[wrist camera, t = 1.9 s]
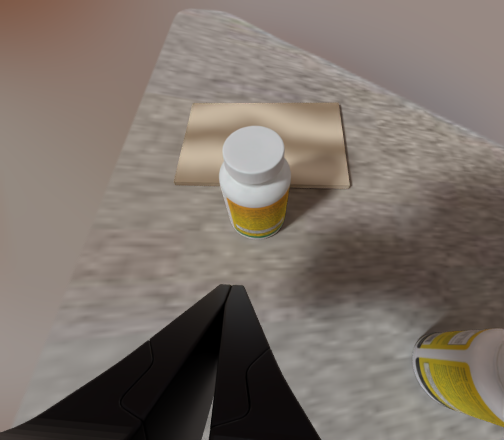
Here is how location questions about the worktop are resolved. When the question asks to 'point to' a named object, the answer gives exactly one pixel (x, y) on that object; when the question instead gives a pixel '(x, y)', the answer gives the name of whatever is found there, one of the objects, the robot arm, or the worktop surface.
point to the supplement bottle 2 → (464, 371)
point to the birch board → (279, 120)
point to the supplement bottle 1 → (255, 181)
